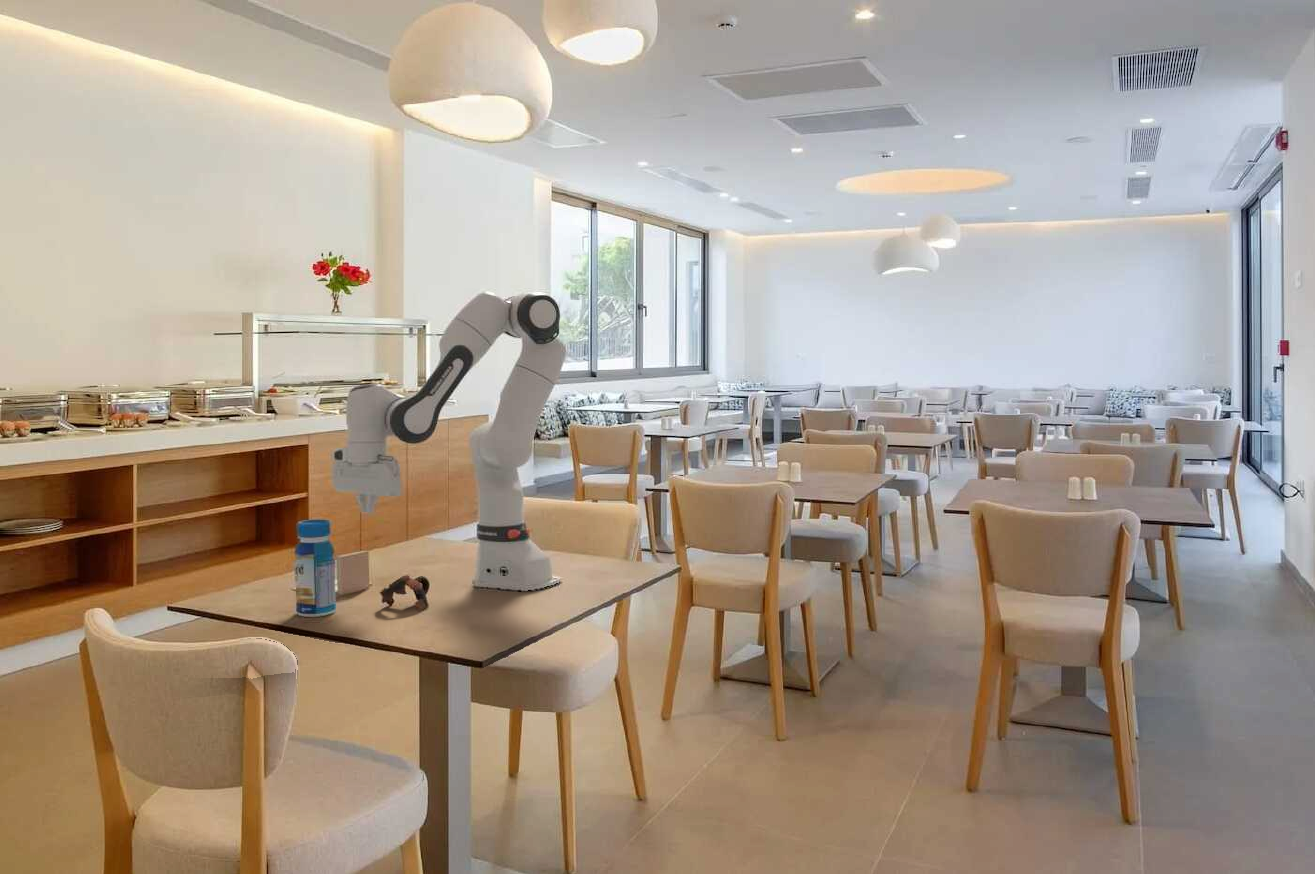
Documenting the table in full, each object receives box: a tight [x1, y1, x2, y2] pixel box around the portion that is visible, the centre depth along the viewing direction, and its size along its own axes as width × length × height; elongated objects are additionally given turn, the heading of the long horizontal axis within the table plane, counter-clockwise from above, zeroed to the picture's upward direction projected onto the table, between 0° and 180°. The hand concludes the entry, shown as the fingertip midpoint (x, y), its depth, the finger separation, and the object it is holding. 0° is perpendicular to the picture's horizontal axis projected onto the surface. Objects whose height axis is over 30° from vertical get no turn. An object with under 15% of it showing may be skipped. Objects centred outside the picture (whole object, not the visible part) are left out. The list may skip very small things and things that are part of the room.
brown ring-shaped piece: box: [379, 574, 430, 612], centre depth 219 cm, size 12×10×8 cm
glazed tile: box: [336, 550, 370, 596], centre depth 234 cm, size 2×8×9 cm, turn 146°
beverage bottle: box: [293, 519, 337, 618], centre depth 213 cm, size 8×8×20 cm
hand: (367, 513), depth 230 cm, fingers closed
